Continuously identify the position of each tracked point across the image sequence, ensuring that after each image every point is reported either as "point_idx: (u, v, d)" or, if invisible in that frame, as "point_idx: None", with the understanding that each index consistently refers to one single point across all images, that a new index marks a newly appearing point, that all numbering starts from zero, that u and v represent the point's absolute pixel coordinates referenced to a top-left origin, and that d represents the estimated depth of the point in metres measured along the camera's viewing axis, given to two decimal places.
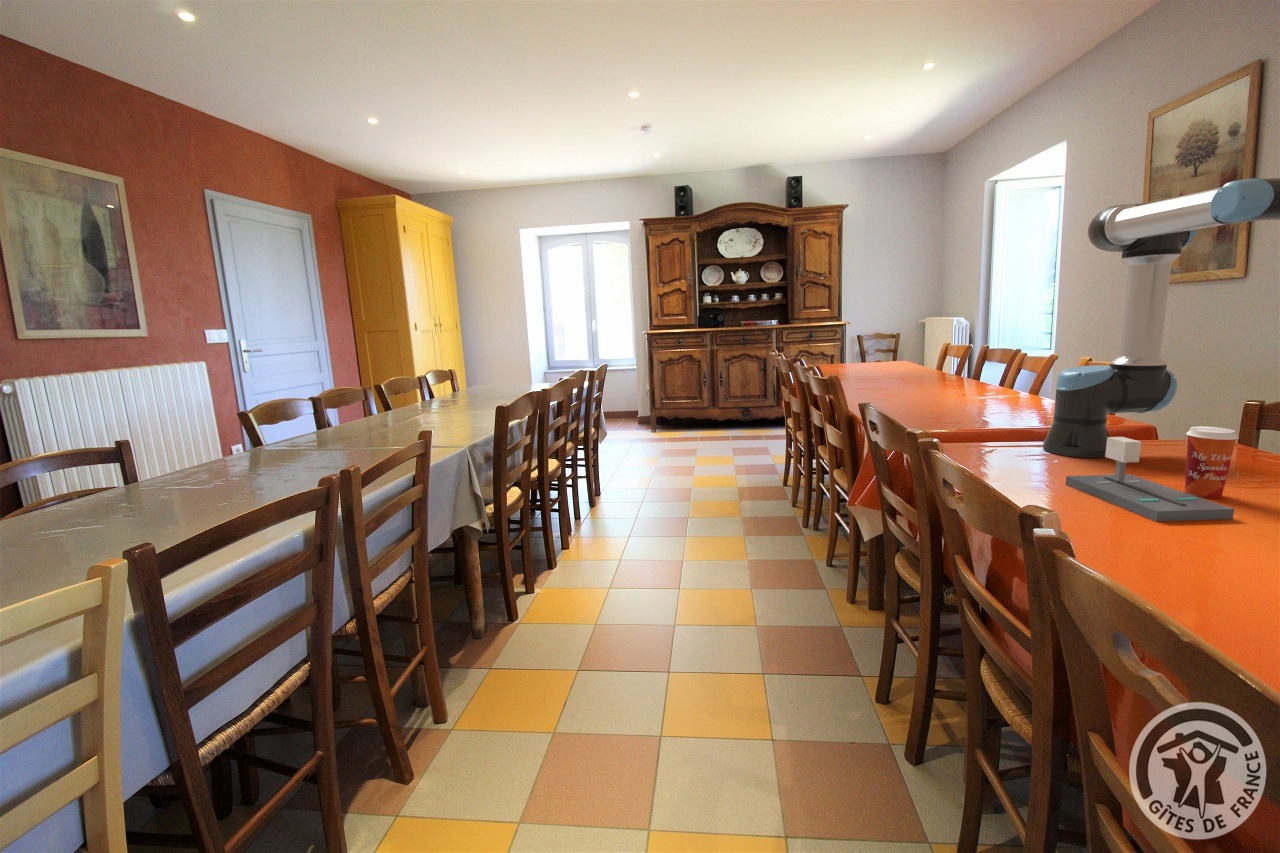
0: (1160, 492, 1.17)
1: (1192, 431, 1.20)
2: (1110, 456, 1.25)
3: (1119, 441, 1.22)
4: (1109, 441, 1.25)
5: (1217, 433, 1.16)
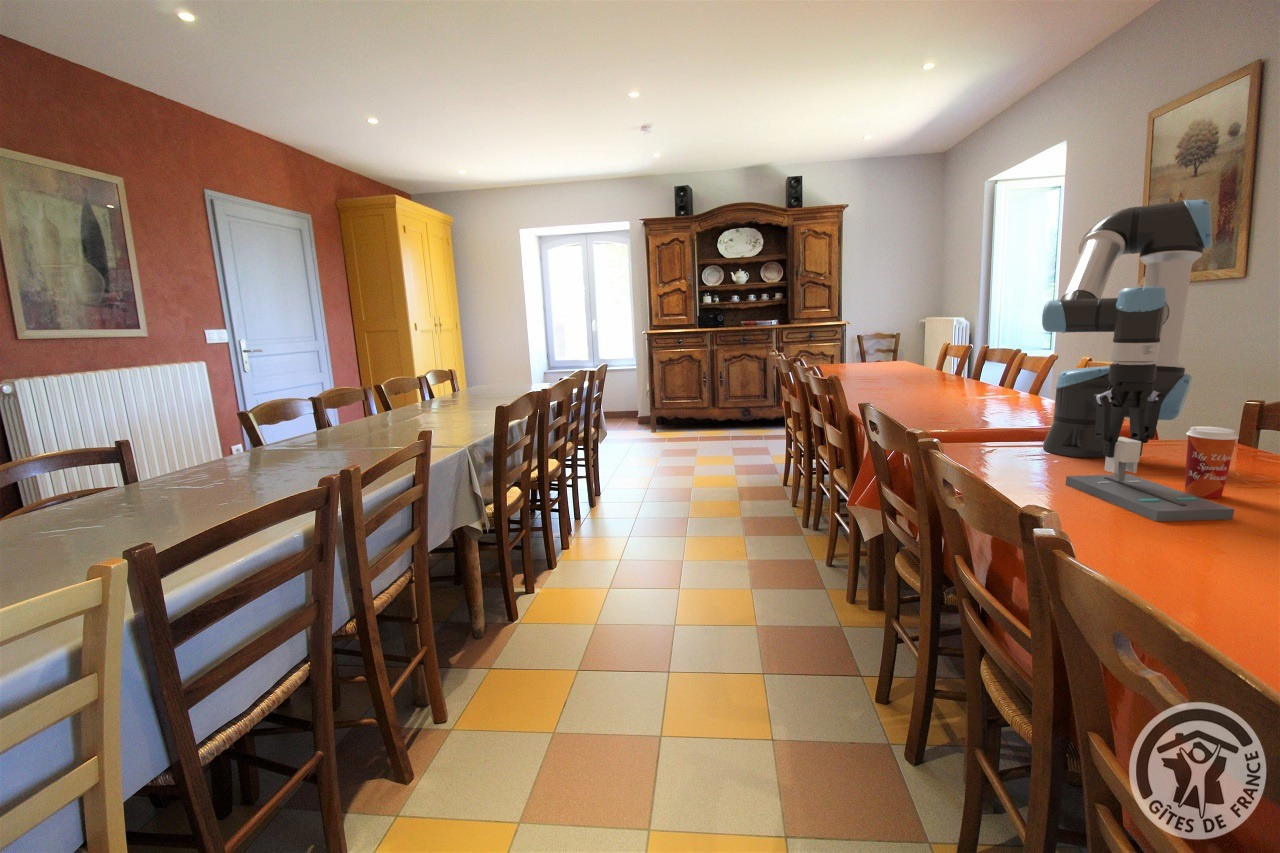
0: (1160, 492, 1.17)
1: (1192, 431, 1.20)
2: None
3: (1119, 441, 1.22)
4: None
5: (1217, 433, 1.16)
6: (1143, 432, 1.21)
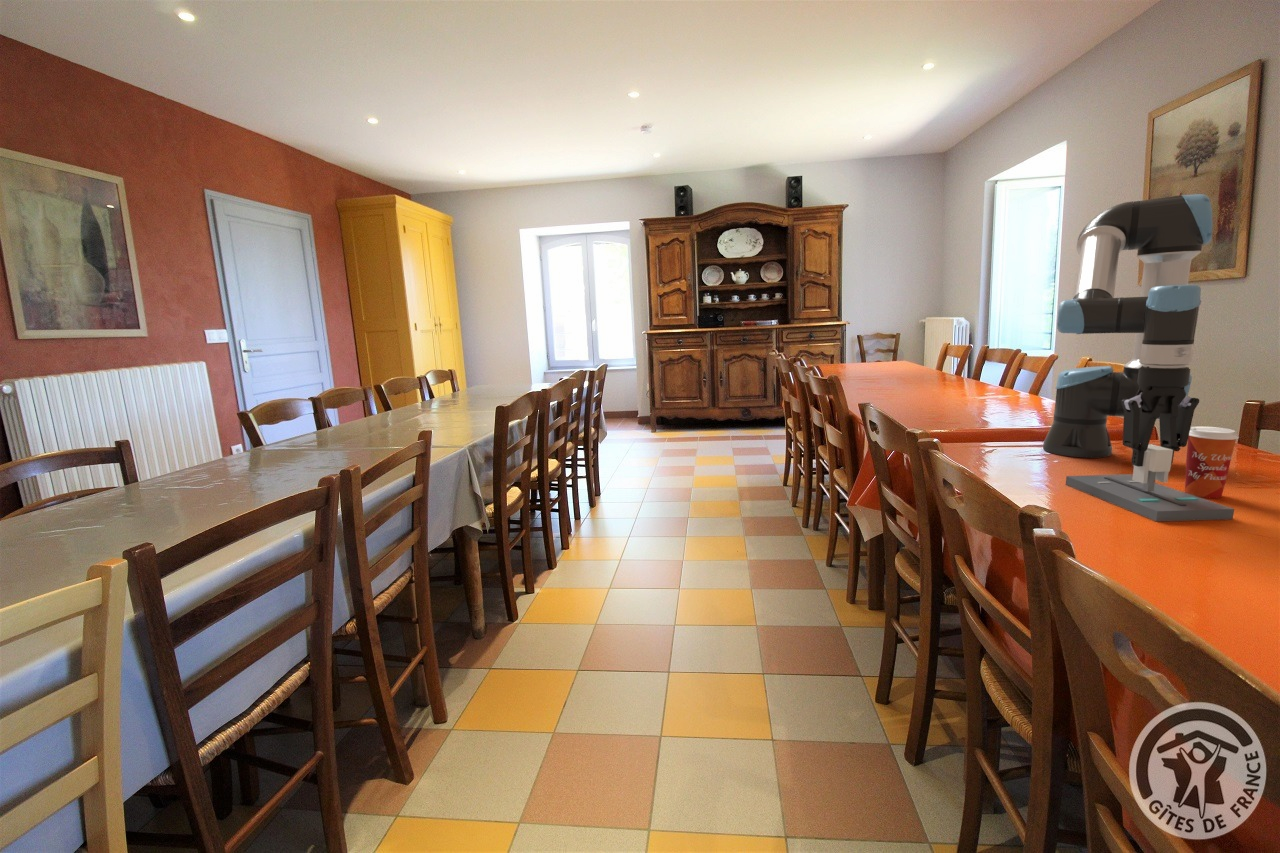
0: (1160, 492, 1.17)
1: (1192, 431, 1.20)
2: None
3: (1149, 449, 1.15)
4: None
5: (1217, 433, 1.16)
6: (1174, 439, 1.14)
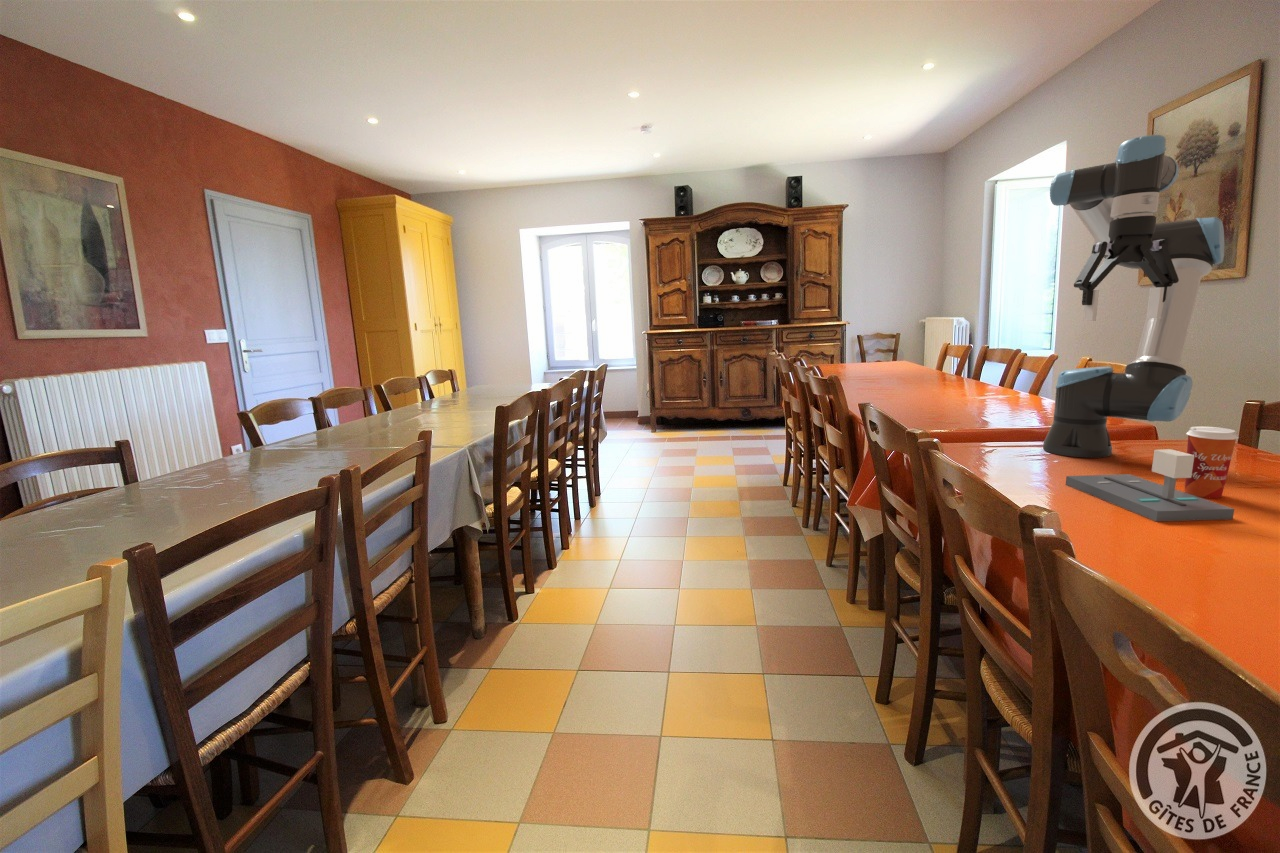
0: (1160, 492, 1.17)
1: (1192, 431, 1.20)
2: (1157, 471, 1.13)
3: (1169, 454, 1.10)
4: (1157, 454, 1.13)
5: (1217, 433, 1.16)
6: (1163, 277, 1.22)
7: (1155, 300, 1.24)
